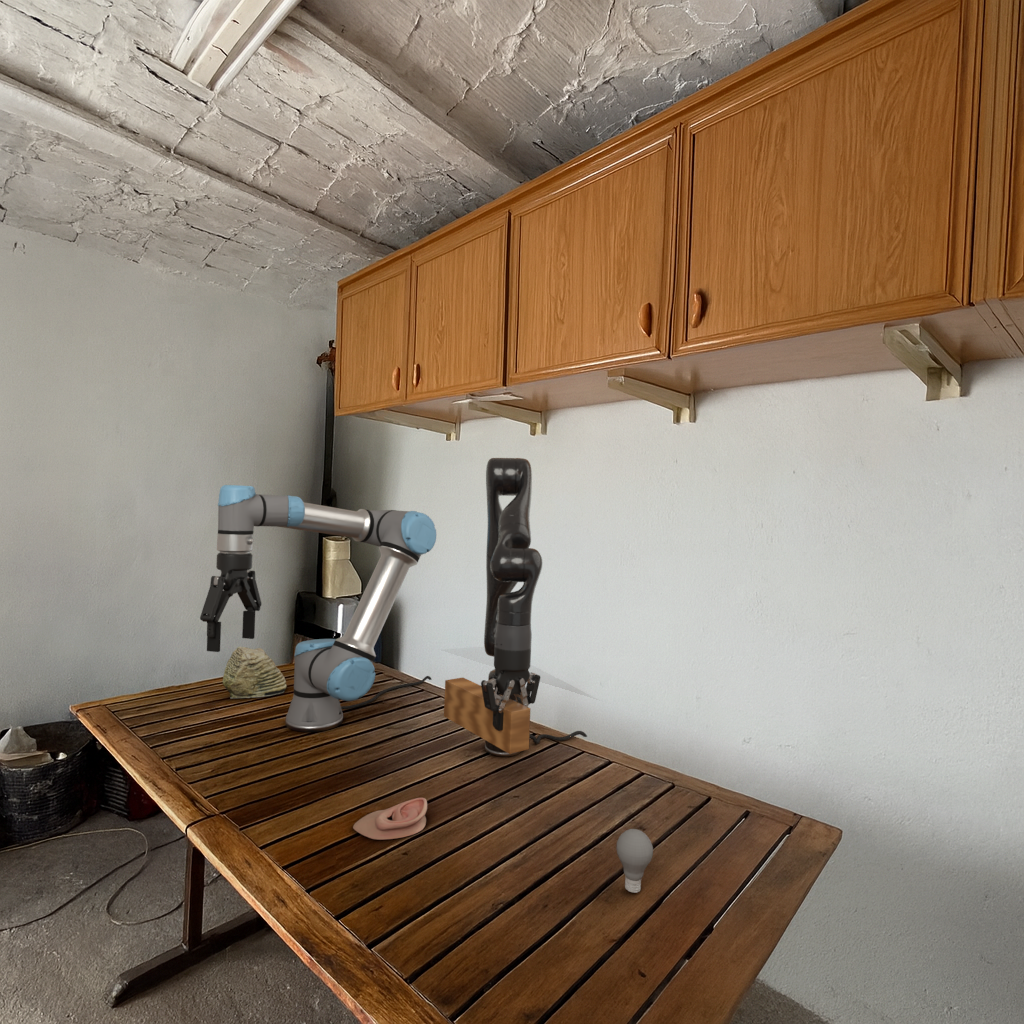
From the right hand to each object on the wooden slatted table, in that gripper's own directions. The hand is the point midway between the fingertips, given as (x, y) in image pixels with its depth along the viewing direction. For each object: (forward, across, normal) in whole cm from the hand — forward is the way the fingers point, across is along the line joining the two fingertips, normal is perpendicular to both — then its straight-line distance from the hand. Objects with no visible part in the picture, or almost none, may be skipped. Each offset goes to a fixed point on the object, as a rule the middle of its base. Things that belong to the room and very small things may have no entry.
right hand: (509, 726), depth 130 cm
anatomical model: (+18, -22, +8) cm, 30 cm away
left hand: (-11, -42, +51) cm, 67 cm away
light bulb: (+18, +2, -33) cm, 37 cm away
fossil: (+17, -23, +102) cm, 106 cm away
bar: (+4, 0, +9) cm, 10 cm away
